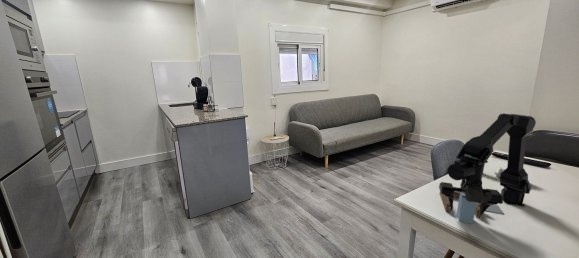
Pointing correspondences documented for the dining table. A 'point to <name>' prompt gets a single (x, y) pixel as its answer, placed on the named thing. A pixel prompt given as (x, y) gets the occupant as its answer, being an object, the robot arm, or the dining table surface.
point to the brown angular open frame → (456, 195)
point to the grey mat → (494, 209)
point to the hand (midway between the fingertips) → (465, 212)
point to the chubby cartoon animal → (500, 172)
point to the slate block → (465, 209)
